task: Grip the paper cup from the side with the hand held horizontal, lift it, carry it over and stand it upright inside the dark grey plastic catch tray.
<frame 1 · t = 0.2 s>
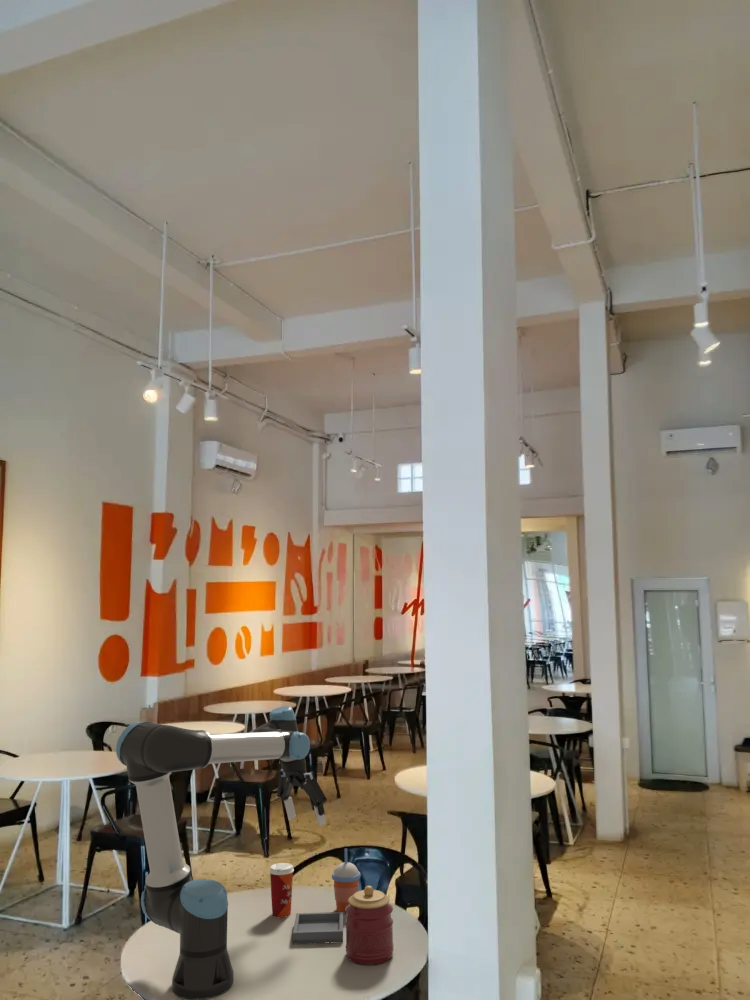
hand: (307, 821, 241), 27 cm above the table, tool tilted 15°, fingers open, 13 cm apart
canister: (369, 955, 208), on the table
paper cup: (281, 914, 237), on the table
catch tray: (318, 933, 223), on the table
cup with straw: (346, 910, 240), on the table
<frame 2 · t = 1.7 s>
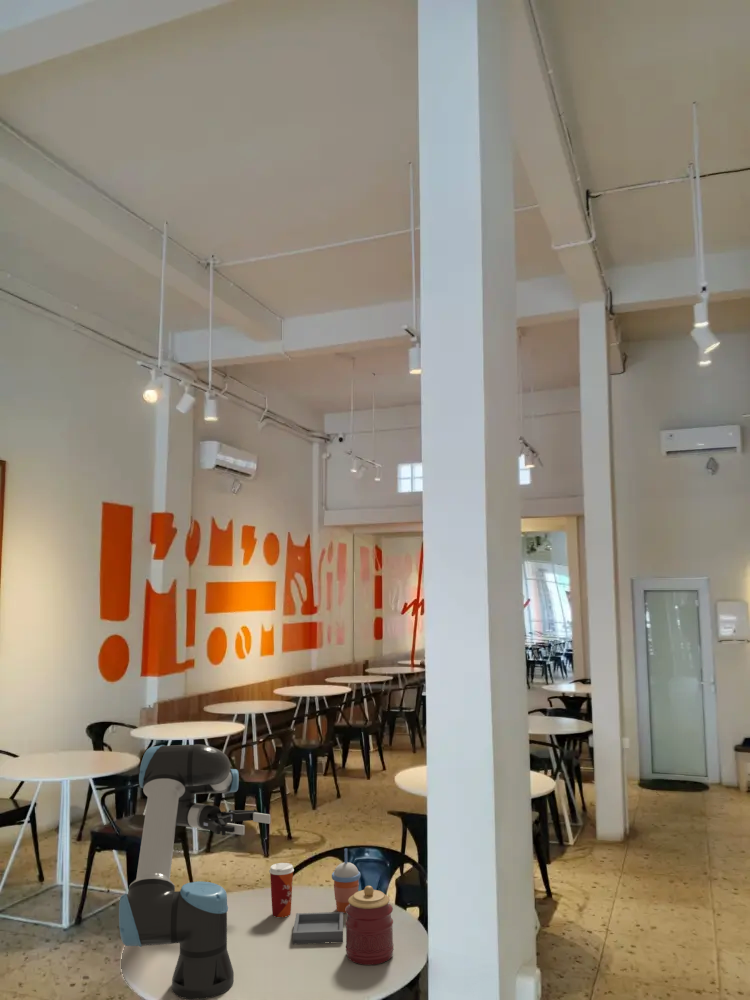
hand: (257, 824, 245), 25 cm above the table, tool horizontal, fingers open, 13 cm apart
nothing on the table moved.
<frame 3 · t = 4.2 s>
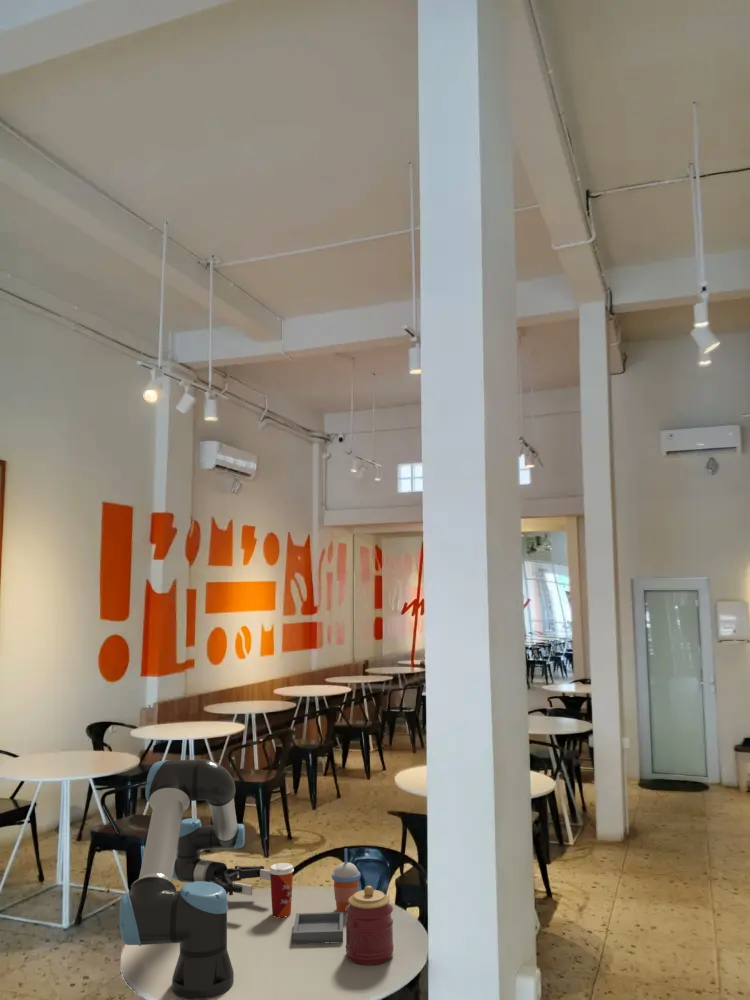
hand: (264, 883, 242), 8 cm above the table, tool horizontal, fingers open, 13 cm apart
nothing on the table moved.
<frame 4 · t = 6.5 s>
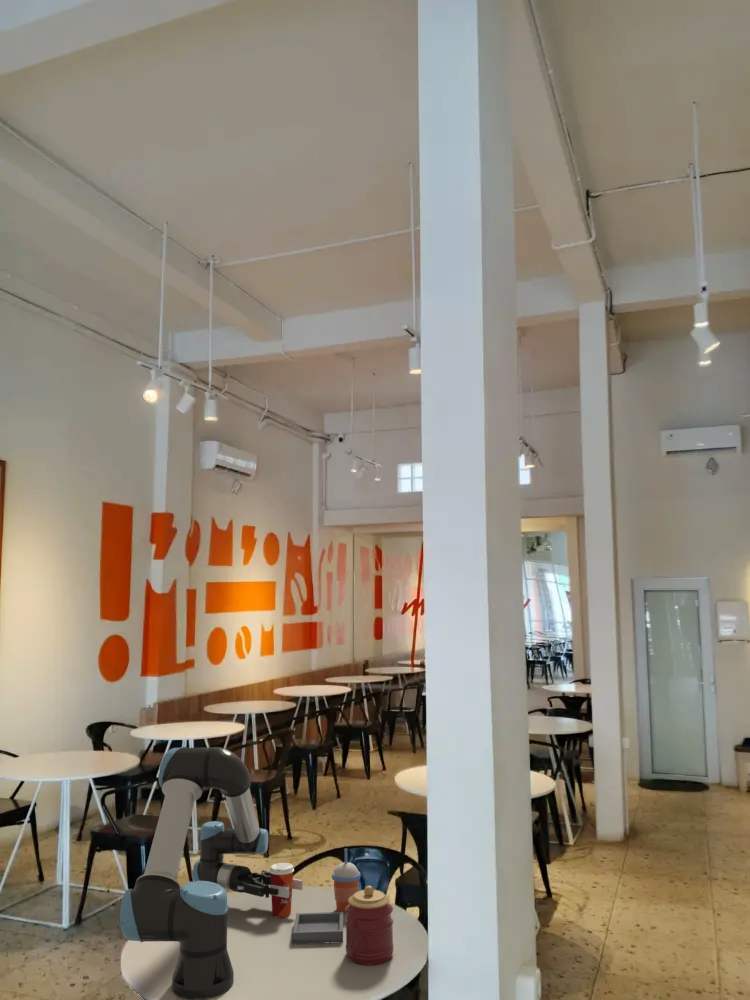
hand: (295, 889, 236), 8 cm above the table, tool horizontal, fingers closed on paper cup, 7 cm apart
paper cup: (281, 914, 237), on the table, touching gripper
everything else where it was.
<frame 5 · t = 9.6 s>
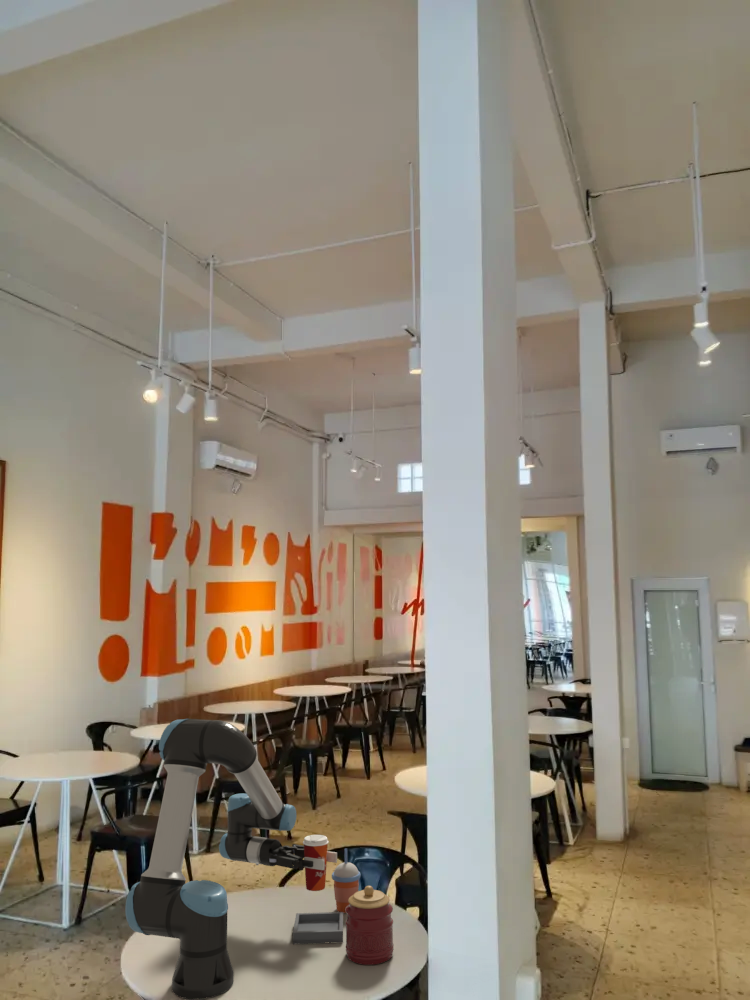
hand: (330, 861, 226), 20 cm above the table, tool horizontal, fingers closed on paper cup, 7 cm apart
paper cup: (315, 888, 227), point 11 cm above the table, touching gripper
everything else where it was.
when the fingers open (10 cm above the table, at t = 12.5 s): paper cup drops 1 cm, resting on catch tray.
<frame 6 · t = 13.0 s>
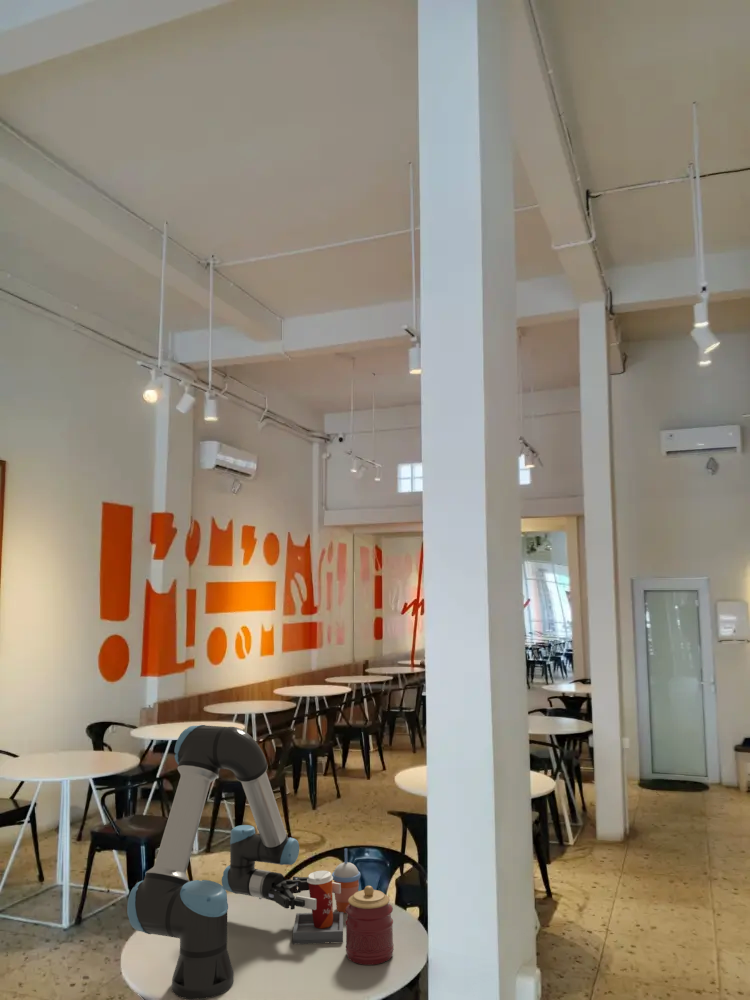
hand: (328, 896, 223), 10 cm above the table, tool horizontal, fingers open, 13 cm apart
paper cup: (323, 925, 226), point 1 cm above the table, touching catch tray, gripper
everything else where it was.
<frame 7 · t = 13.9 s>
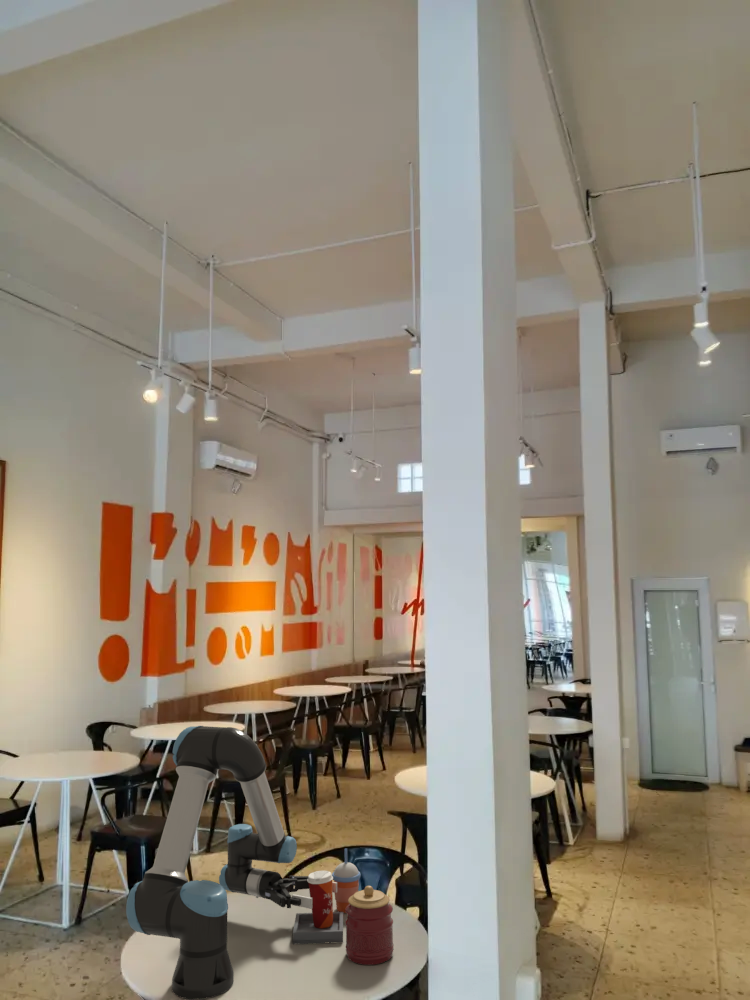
hand: (324, 895, 224), 11 cm above the table, tool horizontal, fingers open, 13 cm apart
nothing on the table moved.
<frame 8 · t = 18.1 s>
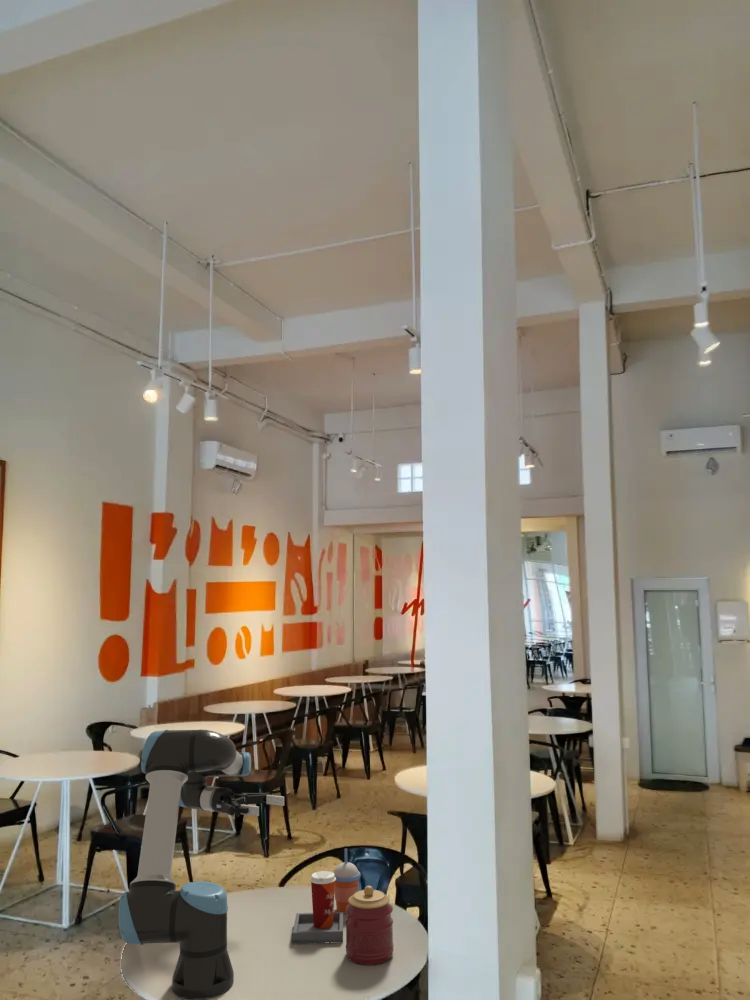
hand: (271, 806, 241), 32 cm above the table, tool horizontal, fingers open, 13 cm apart
paper cup: (323, 925, 226), point 1 cm above the table, touching catch tray
everything else where it was.
at the end: paper cup inside the target area on the catch tray (3.2 cm from its centre), point 0.8 cm above the catch tray's base; paper cup tilted 0°; the gripper is holding nothing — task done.
